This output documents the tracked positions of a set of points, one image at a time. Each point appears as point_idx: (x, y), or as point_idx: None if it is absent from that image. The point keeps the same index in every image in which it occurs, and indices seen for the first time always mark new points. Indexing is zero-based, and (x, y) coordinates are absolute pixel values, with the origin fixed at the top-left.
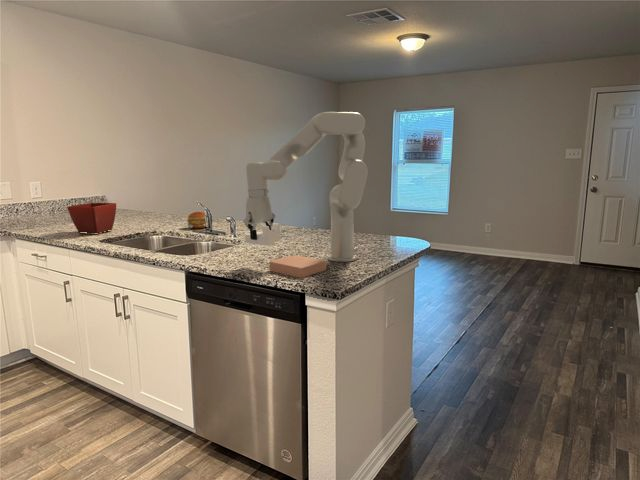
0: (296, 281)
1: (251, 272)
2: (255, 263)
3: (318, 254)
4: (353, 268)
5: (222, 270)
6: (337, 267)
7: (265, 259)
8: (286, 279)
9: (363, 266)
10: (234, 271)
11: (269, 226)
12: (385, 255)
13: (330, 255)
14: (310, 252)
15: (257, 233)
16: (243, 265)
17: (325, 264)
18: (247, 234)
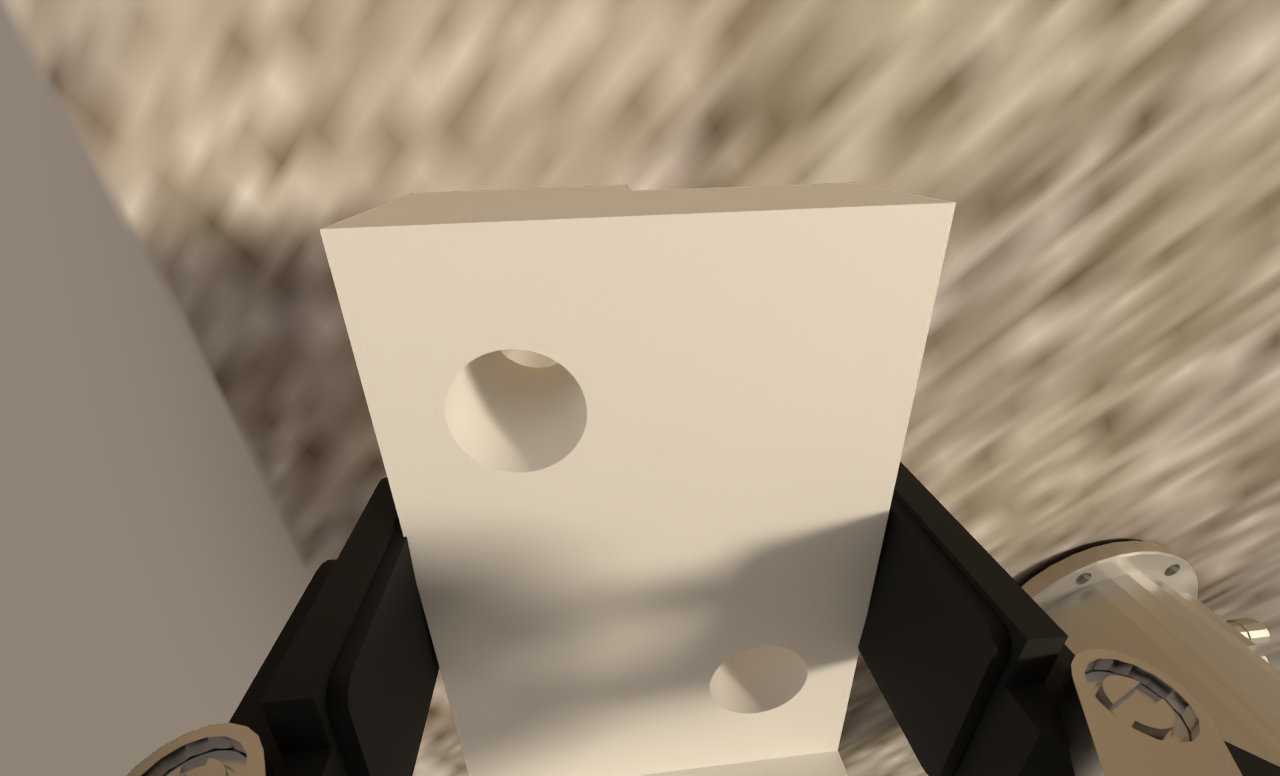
0: (456, 767)
1: (342, 438)
2: (617, 179)
3: (1193, 416)
4: (870, 764)
5: (64, 94)
6: (853, 714)
7: (837, 124)
8: (439, 717)
9: None
10: (199, 272)
11: (984, 770)
12: None
13: (1095, 576)
14: (1272, 306)
15: (655, 496)
16: (448, 127)
17: None
18: (386, 341)
